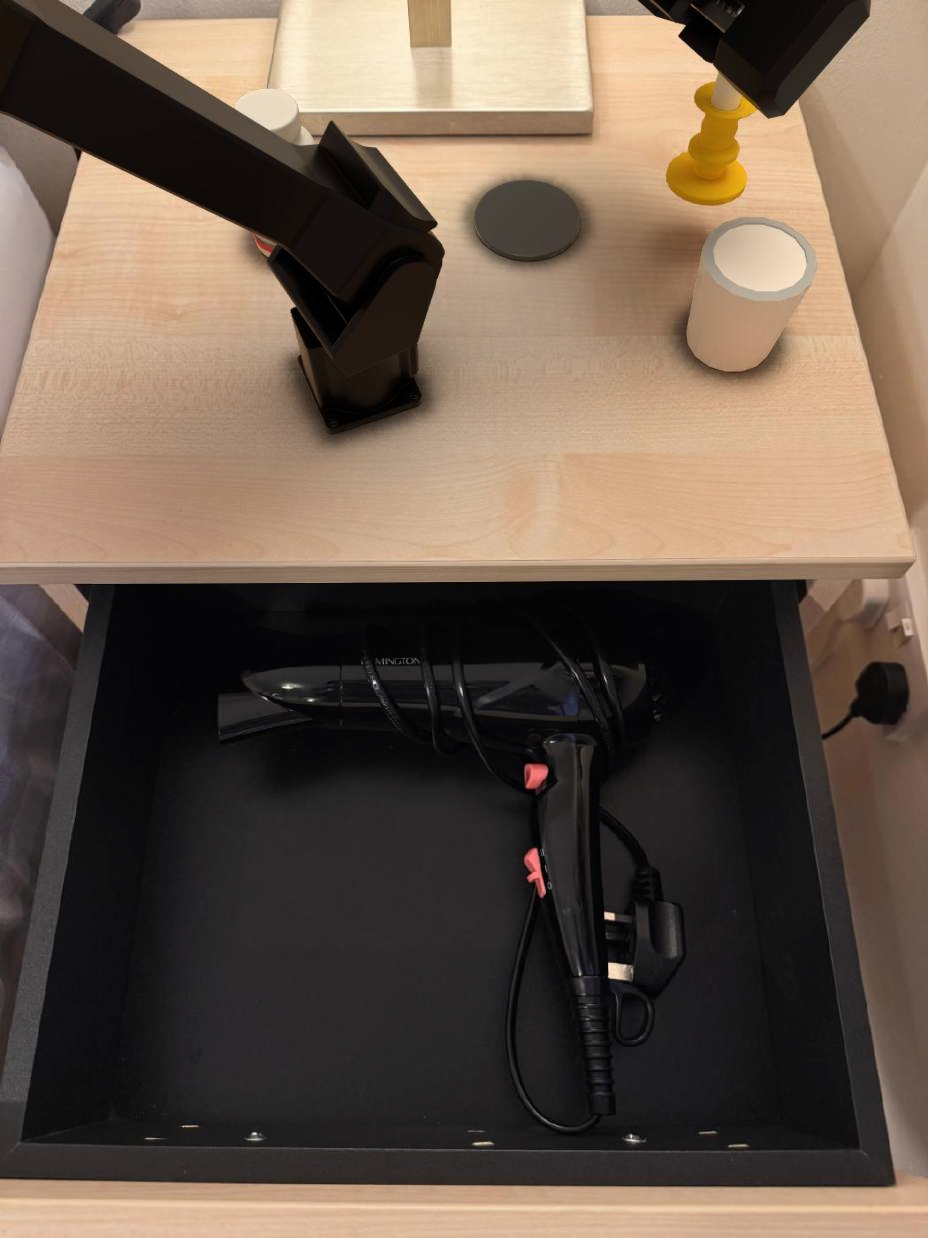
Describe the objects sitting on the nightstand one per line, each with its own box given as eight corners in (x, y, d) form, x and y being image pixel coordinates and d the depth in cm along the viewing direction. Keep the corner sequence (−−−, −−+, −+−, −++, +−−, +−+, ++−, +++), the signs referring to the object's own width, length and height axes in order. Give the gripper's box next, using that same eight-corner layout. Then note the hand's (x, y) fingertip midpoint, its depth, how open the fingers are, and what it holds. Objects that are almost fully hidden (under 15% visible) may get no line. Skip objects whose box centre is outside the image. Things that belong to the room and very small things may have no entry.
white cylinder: (777, 387, 57) (816, 308, 51) (671, 370, 58) (697, 290, 51) (783, 307, 60) (820, 223, 53) (682, 292, 60) (707, 207, 54)
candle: (654, 192, 57) (712, -94, 44) (681, 148, 59) (745, -137, 46) (730, 215, 56) (816, -71, 42) (755, 169, 58) (843, -116, 45)
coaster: (499, 273, 61) (499, 268, 61) (458, 201, 64) (458, 196, 64) (597, 242, 62) (598, 237, 62) (552, 172, 65) (553, 168, 65)
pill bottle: (311, 273, 61) (285, 147, 52) (242, 253, 62) (204, 125, 53) (343, 221, 63) (323, 90, 54) (275, 202, 64) (245, 70, 55)
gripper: (945, -250, 31) (995, -16, 44) (636, -437, 38) (756, -187, 50) (713, 45, 37) (816, 178, 49) (477, -163, 43) (621, 1, 56)
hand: (752, 35), depth 51 cm, fingers closed on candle
